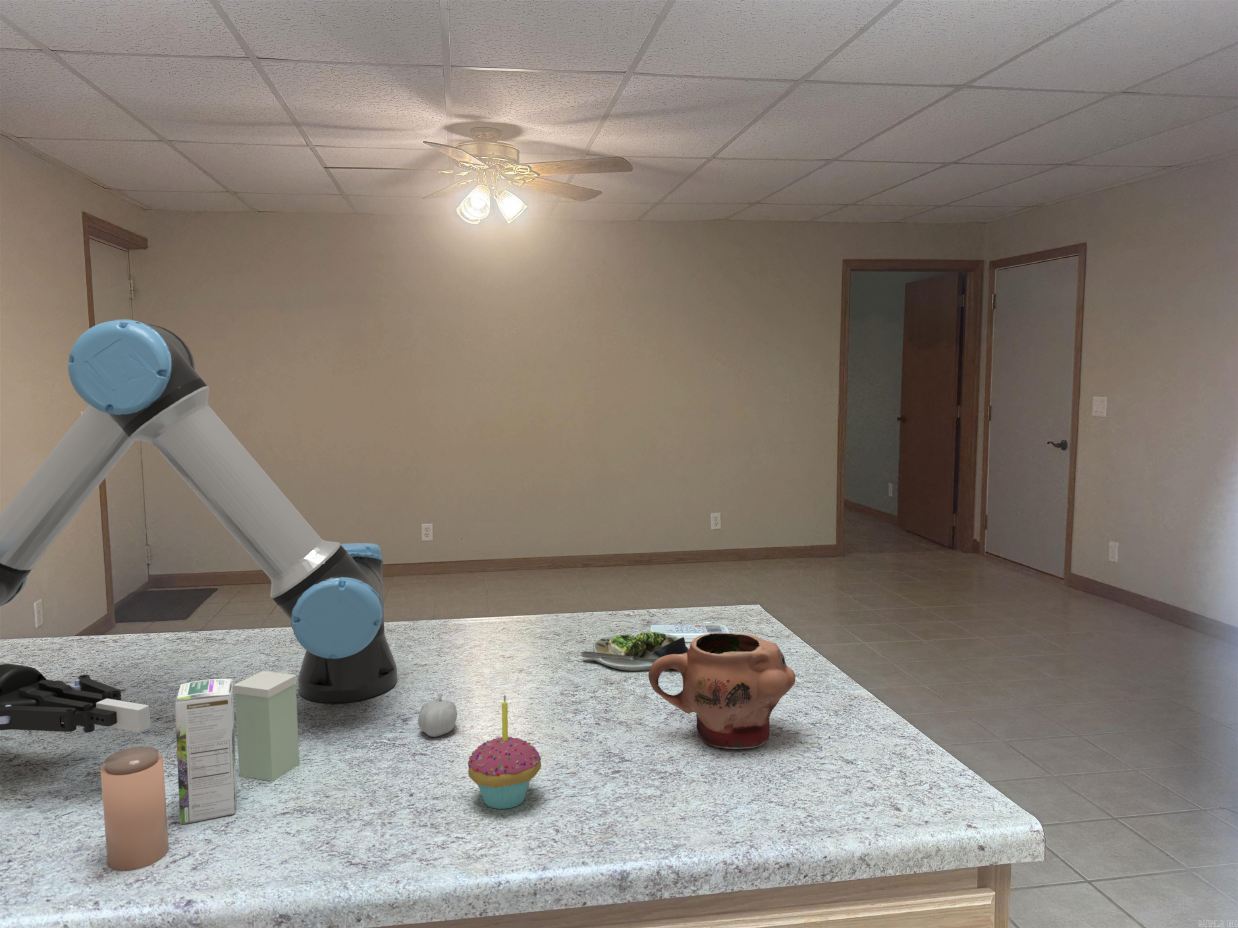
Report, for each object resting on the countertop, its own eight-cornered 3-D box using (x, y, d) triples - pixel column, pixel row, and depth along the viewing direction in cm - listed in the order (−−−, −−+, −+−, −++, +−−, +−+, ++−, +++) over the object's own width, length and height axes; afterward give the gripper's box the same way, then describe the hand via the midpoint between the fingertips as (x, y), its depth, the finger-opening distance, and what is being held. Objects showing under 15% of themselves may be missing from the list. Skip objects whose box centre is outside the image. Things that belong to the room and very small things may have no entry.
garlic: (436, 720, 122) (435, 686, 121) (466, 727, 119) (466, 692, 119) (408, 737, 116) (407, 700, 116) (440, 744, 114) (439, 707, 113)
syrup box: (183, 801, 99) (176, 682, 97) (238, 791, 101) (232, 675, 100) (179, 825, 94) (172, 700, 92) (238, 814, 96) (231, 692, 94)
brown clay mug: (656, 762, 109) (656, 658, 107) (642, 723, 121) (643, 629, 119) (806, 754, 111) (808, 651, 109) (778, 716, 123) (780, 623, 121)
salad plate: (586, 680, 138) (586, 653, 138) (574, 645, 156) (574, 621, 155) (700, 673, 141) (701, 647, 141) (676, 640, 159) (676, 616, 158)
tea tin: (267, 757, 110) (262, 670, 109) (300, 763, 109) (296, 675, 107) (238, 775, 105) (233, 685, 104) (272, 782, 104) (268, 689, 102)
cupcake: (472, 783, 103) (469, 689, 102) (541, 780, 104) (540, 686, 103) (465, 820, 95) (463, 718, 93) (541, 816, 95) (539, 715, 94)
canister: (169, 834, 92) (162, 740, 91) (168, 861, 87) (162, 761, 86) (109, 848, 89) (102, 751, 88) (105, 876, 84) (97, 773, 83)
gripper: (48, 703, 112) (189, 727, 105) (-56, 743, 100) (96, 774, 93) (44, 648, 112) (186, 669, 105) (-60, 682, 99) (93, 708, 92)
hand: (144, 718), depth 99 cm, fingers closed
